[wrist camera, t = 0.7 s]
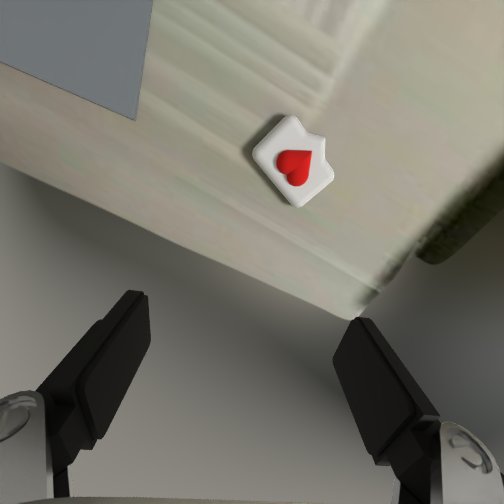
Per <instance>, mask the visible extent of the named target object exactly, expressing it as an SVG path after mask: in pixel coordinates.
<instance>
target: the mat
mask: <svg viewBox="0 0 504 504" xmlns="http://www.w3.org/2000/svg"><path fill="white" fill-rule="evenodd" d="M152 3H153V0H0V62H2V63H5V64H7V65H9V66H12V67H14V68H16V69H18V70H21V71H23V72H25V73H28V74H30V75H32V76H35V77H37V78H39V79H41V80H44V81H46V82H48V83H51V84H53V85H55V86H57V87H60V88H62V89H64V90H67V91H69V92H71V93H73V94H76V95H78V96H80V97H83V98H85V99H87V100H89V101H92V102H94V103H96V104H99V105H101V106H103V107H105V108H108V109H110V110H112V111H115V112H117V113H119V114H122V115H124V116H126V117H128V118H131V119H133V120H136V113H137V106H138V100H139V93H140V86H141V79H142V72H143V65H144V58H145V51H146V45H147V38H148V31H149V24H150V17H151V10H152Z"/></svg>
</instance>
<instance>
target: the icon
mask: <svg viewBox="0 0 504 504" xmlns="http://www.w3.org/2000/svg"><path fill="white" fill-rule="evenodd" d="M252 156H253V159H254V161H255V162H256V163H257V164H258V165H259V167H260V168H261V169H262V170H263V171H264V173H265V174H266V175H267V176H268V177H269V179H270V180H271V181H272V182H273V183H274V185H275V186H276V187H277V188H278V189H279V191H280V192H281V193H282V194H283V195H284V197H285V198H286V199H287V200H288V201H289V203H290V204H291V205H292V206H293V207H297V208H298V207H301V206H303V205H304V204H305V203H306V202H308V201H309V200H310V199H311V198H312V197H314V196H315V195H316V194H317V193H318V192H320V191H321V190H322V189H323V188H324V187H326V186H327V185H328V184H329V183H330V182H331V181H332V180H333V178H334V171H333V169H332V168H331V167H330V165H329V164H328V162H327V161H326V159H325V137H324V136H320V135H316V134H312V133H308V132H307V131H306V130H305V129H304V127H303V126H302V124H301V123H300V122H299V120H298V119H297V117H296V116H294V115H287V116H285V117H284V118H283V119H282V120H281V121H280V122H279V123H278V124H277V125H276V126H275V127H274V128H273V129H272V130H271V131H270V132H269V133H268V134H267V135H266V136H265V137H264V138H263V139H262V140H261V141H260V142H259V143H258V144H257V145H256V146H255V147H254V149H253V152H252Z"/></svg>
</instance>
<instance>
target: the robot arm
mask: <svg viewBox="0 0 504 504" xmlns="http://www.w3.org/2000/svg"><path fill="white" fill-rule="evenodd" d="M150 341H151V334H150V320H149V306H148V296H147V295H144V293H143V292H142V291H134V290H128V291H126V293H125V294H124V295H123V296H122V297H121V299H120V300H119V301H118V302H117V303H116V304H115V305H114V307H113V308H112V309H111V310H110V311H109V313H108V314H107V315H106V316H105V317H104V318H103V320H98V321H97V322H96V323H95V324H94V325H93V326H92V327H91V328H90V329H89V330H88V331H87V333H86V334H85V335H84V336H83V337H82V338H81V339H80V341H79V342H78V343H77V344H76V345H75V346H74V347H73V348H72V350H71V351H70V352H69V353H68V354H67V355H66V356H65V358H64V359H63V360H62V361H61V362H60V364H59V365H58V366H57V367H56V368H55V369H54V370H53V371H52V373H51V374H50V375H49V376H48V377H47V378H46V379H45V381H44V382H43V383H42V384H41V385H40V386H39V387H38V388H37V390H36V391H31V390H28V391H20V392H17V393H14V394H10V395H8V396H6V397H4V398H2V399H0V504H322V503H295V502H294V503H293V502H269V501H240V500H209V499H178V498H146V497H145V498H144V497H74V495H73V485H72V475H71V464H72V463H73V461H74V460H75V458H76V456H77V455H78V453H79V451H80V449H83V450H92V449H93V447H94V445H95V443H96V441H97V439H102V438H103V437H104V435H105V433H106V432H107V430H108V428H109V426H110V424H111V422H112V420H113V418H114V416H115V414H116V412H117V410H118V408H119V406H120V404H121V402H122V400H123V398H124V396H125V394H126V392H127V390H128V388H129V386H130V384H131V382H132V379H133V378H134V376H135V374H136V372H137V370H138V367H139V366H140V364H141V362H142V360H143V357H144V356H145V354H146V352H147V350H148V348H149V345H150ZM333 365H334V368H335V371H336V373H337V376H338V378H339V381H340V383H341V386H342V389H343V391H344V393H345V396H346V399H347V401H348V404H349V406H350V409H351V411H352V413H353V416H354V419H355V422H356V424H357V427H358V429H359V432H360V434H361V437H362V440H363V442H364V445H365V447H366V449H367V451H368V453H369V454H370V455H372V457H373V460H374V462H375V465H380V466H390V465H391V467H392V469H393V471H394V484H393V491H392V500H391V504H504V475H503V474H502V473H501V472H500V470H499V467H498V465H497V462H496V461H495V459H494V457H493V456H492V454H491V453H490V451H489V450H488V449H487V448H486V447H485V446H484V444H482V442H481V441H480V440H479V439H477V438H476V437H475V436H474V435H473V434H472V433H470V432H469V431H468V430H466V429H465V428H463V427H461V426H459V425H458V424H455V423H451V422H444V423H443V424H441V423H440V422H439V420H438V418H439V417H440V415H439V413H438V412H437V410H436V409H435V408H434V406H433V405H432V403H431V402H430V401H429V399H428V398H427V396H426V395H425V394H424V392H423V391H422V389H421V388H420V387H419V385H418V384H417V383H416V381H415V380H414V378H413V377H412V376H411V374H410V373H409V371H408V370H407V369H406V368H405V366H404V364H403V363H402V362H401V360H400V359H399V357H398V356H397V355H396V353H395V352H394V350H393V349H392V348H391V346H390V345H389V344H388V342H387V341H386V339H385V338H384V336H383V335H382V334H381V332H380V331H379V329H378V328H377V327H376V325H375V324H374V323H373V321H372V320H371V319H369V318H362V317H356V318H355V319H354V320H352V321H351V322H350V324H349V326H348V328H347V330H346V332H345V334H344V336H343V338H342V340H341V342H340V344H339V346H338V348H337V350H336V352H335V354H334V356H333Z"/></svg>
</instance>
